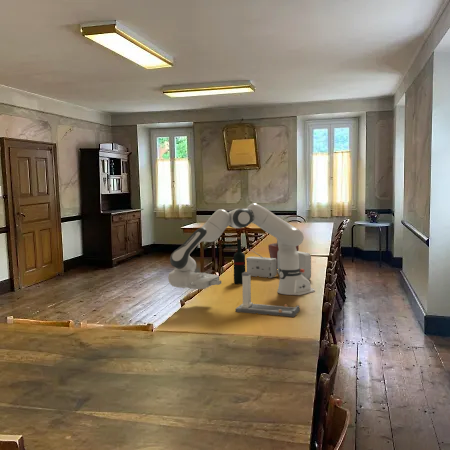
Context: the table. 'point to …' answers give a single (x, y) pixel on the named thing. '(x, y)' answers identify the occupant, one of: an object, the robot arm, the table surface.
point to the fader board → (270, 310)
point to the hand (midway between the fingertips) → (220, 282)
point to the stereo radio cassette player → (262, 266)
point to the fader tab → (246, 289)
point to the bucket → (275, 250)
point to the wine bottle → (239, 263)
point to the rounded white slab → (301, 263)
